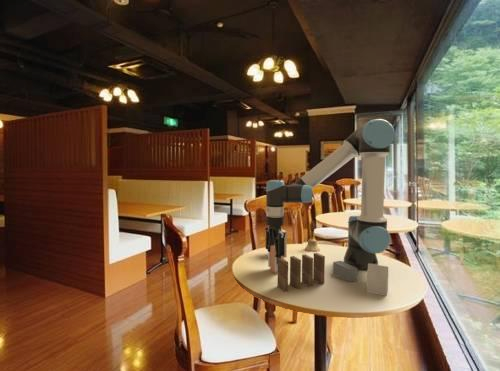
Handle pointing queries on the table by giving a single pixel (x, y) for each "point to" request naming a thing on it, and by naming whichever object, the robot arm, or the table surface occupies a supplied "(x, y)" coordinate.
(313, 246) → the hand bell
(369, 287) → the beige boxy piece
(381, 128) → the robot arm
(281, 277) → the walnut tile
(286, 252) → the supplement box
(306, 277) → the walnut tile
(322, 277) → the walnut tile
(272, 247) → the terracotta tile
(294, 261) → the walnut tile
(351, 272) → the block
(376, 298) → the table surface
